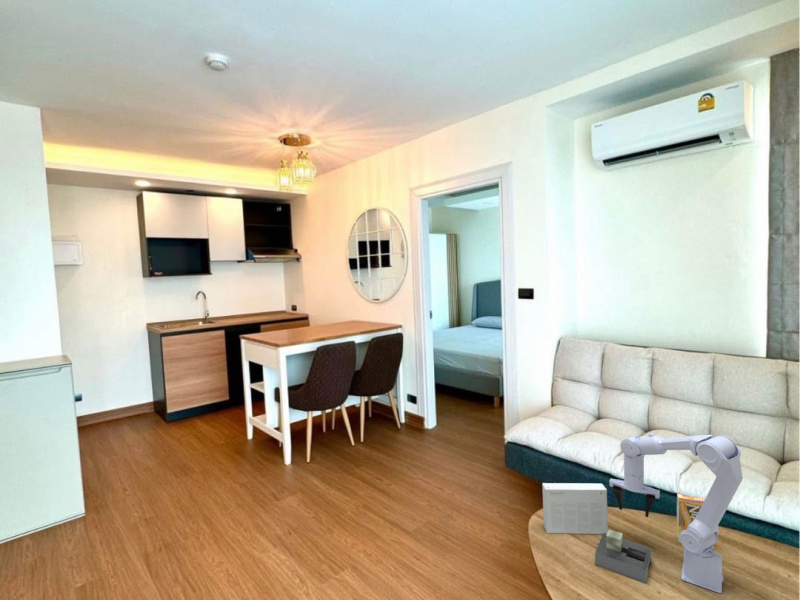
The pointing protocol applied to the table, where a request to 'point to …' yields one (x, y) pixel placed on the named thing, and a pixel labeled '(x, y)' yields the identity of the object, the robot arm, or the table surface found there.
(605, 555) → the keyhole bracket
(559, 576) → the table surface
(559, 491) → the skincare box
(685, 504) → the candy box
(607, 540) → the peg
